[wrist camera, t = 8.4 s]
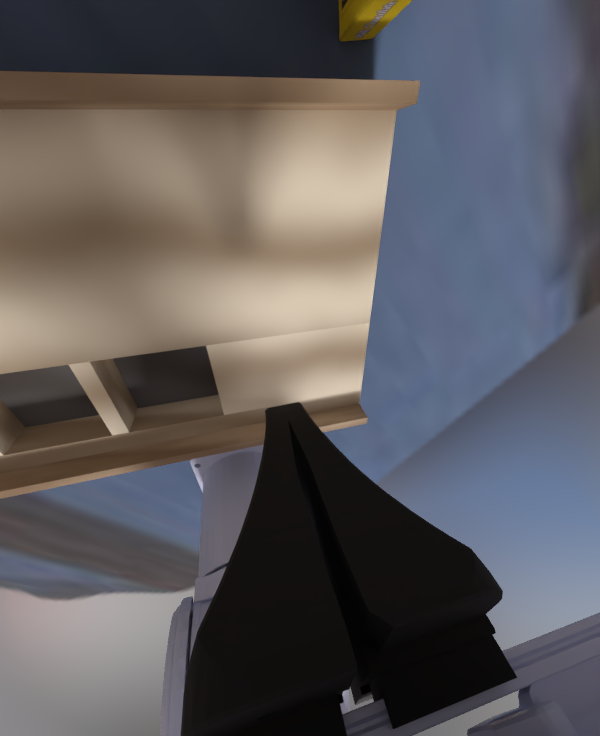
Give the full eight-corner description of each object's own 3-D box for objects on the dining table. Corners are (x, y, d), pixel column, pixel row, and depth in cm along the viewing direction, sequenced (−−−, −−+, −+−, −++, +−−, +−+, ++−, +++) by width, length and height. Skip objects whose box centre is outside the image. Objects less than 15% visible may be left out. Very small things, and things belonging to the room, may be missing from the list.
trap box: (346, 389, 24) (366, 423, 21) (-75, 466, 19) (-136, 526, 15) (372, 103, 13) (420, 81, 10) (-566, 95, 8) (-1062, 45, 5)
